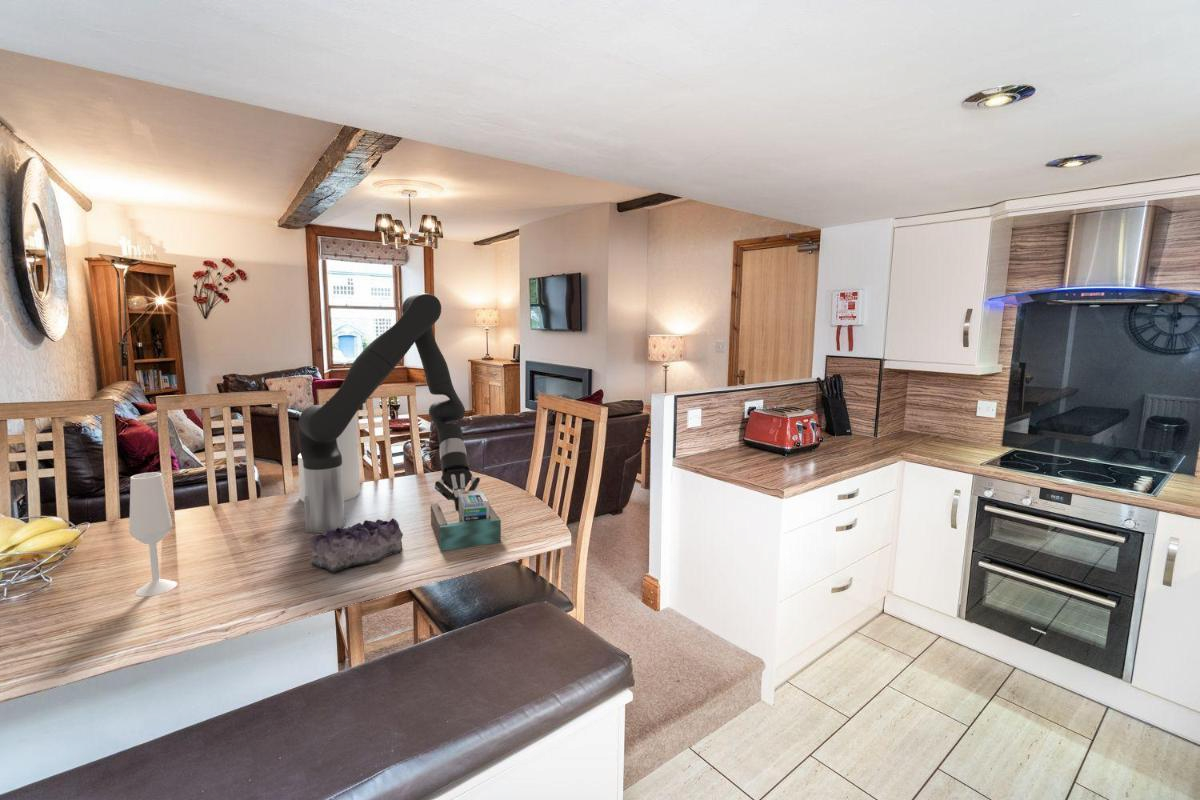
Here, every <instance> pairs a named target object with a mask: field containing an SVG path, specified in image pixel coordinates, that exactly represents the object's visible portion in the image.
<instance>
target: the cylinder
mask: <svg viewBox="0 0 1200 800" xmlns="http://www.w3.org/2000/svg"><path fill="white" fill-rule="evenodd" d="M302 412H303V411H302ZM302 412H299V413H298V414H299V416H300V415H301V413H302ZM358 426H359V424H358V411H357V412H356V414H355V415H354V417H353V418H352V419H351V421H350V422H349V424H348V425H347V427H346V428H345V430H344V431H343V432H342V434H341V435H340V436H339V437H338V438H337V446H338V449H339V451H340V453H341V455H342V473H343V496H344V502H346V501H348V500H351V499H354V498H356V497H358V496H359V495H360V494H361V481H360V479H361V478H360V455H359V454H360V453H359V451H360V450H359V449H360V448H359V430H358V428H359V427H358ZM297 465H298V467H297V468H298V483H299V499H300V501H301V502H303V503H304V497H305V486H304V468H303V459H302V457H301V453H300V452H299V454H298V455H297Z"/></svg>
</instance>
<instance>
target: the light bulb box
mask: <svg viewBox="0 0 1200 800" xmlns="http://www.w3.org/2000/svg"><path fill="white" fill-rule="evenodd" d="M458 497H459V513H458V522H465V521H473V520H481V519H489V504H490V500H489V499H488V497H486V495H485V493H484V491H483V490H482V489H477V490H476V489H475V491H468V490H465V491H460V492H459V491H458Z"/></svg>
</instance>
